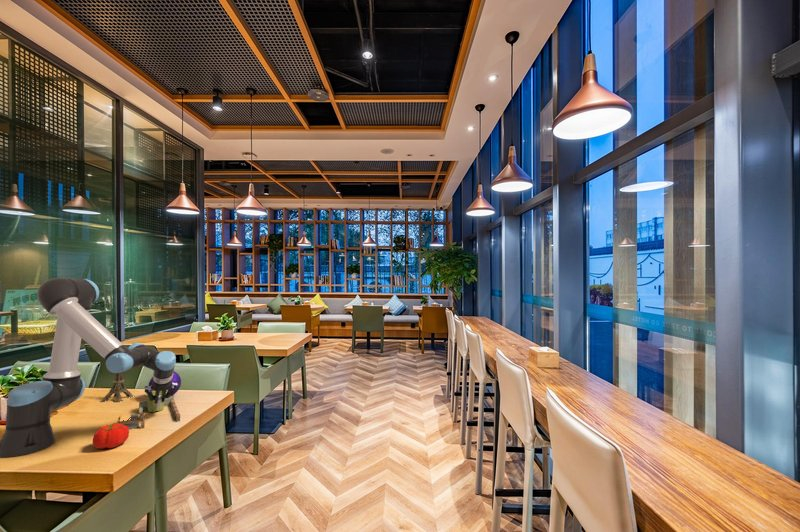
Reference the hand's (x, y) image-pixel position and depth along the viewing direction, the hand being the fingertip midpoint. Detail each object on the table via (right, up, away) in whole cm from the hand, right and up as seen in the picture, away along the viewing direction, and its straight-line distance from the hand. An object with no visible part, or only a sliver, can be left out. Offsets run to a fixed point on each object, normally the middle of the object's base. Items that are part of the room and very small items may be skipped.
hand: (158, 405), depth 170 cm
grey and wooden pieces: (-1, -3, -5) cm, 6 cm away
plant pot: (-3, -4, +3) cm, 6 cm away
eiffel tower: (-36, -5, +20) cm, 42 cm away
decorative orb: (-12, -5, +23) cm, 26 cm away
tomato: (+6, -2, -35) cm, 36 cm away
